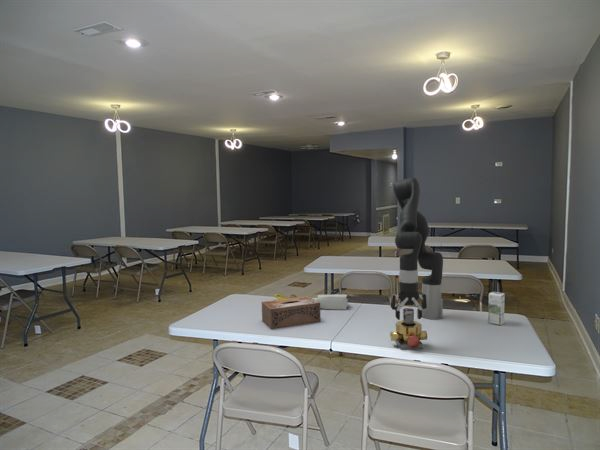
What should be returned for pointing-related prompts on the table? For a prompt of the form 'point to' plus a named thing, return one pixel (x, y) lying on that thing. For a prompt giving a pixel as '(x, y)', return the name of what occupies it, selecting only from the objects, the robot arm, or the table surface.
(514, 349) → the table surface
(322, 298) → the white flat block
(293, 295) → the sprinkler
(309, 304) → the tissue box cover
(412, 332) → the valve
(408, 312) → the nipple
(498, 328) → the table surface
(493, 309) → the syrup box
